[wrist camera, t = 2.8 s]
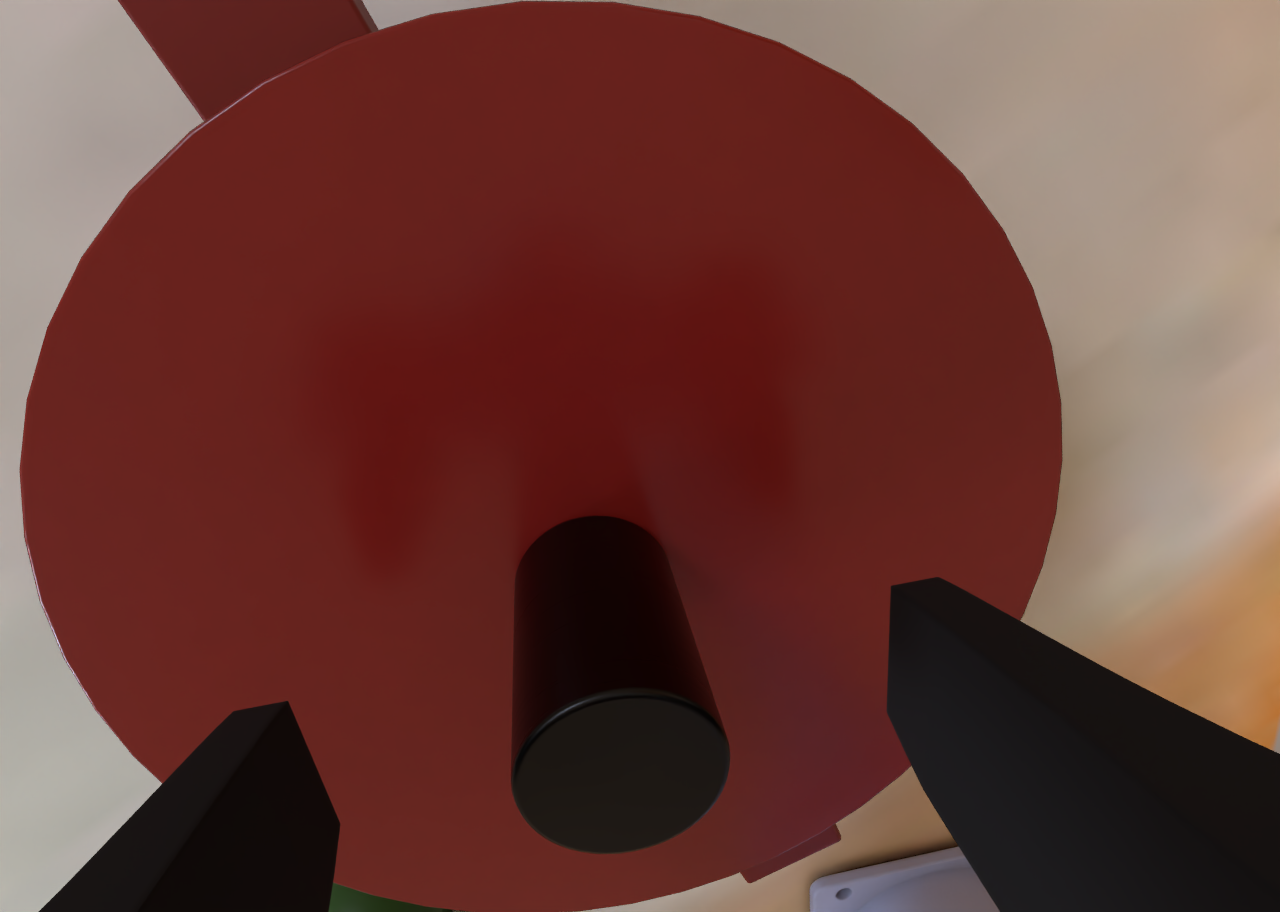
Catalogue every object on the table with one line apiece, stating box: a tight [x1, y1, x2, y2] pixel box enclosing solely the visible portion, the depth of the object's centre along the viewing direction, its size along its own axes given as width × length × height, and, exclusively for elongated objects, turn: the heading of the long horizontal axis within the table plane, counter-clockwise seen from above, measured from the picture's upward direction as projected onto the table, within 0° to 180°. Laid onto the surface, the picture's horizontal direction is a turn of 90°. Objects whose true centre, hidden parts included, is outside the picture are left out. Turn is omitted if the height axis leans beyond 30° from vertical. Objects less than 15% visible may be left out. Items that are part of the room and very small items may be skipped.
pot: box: [118, 0, 841, 883], centre depth 14 cm, size 14×20×5 cm
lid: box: [20, 1, 1062, 912], centre depth 10 cm, size 15×15×5 cm
